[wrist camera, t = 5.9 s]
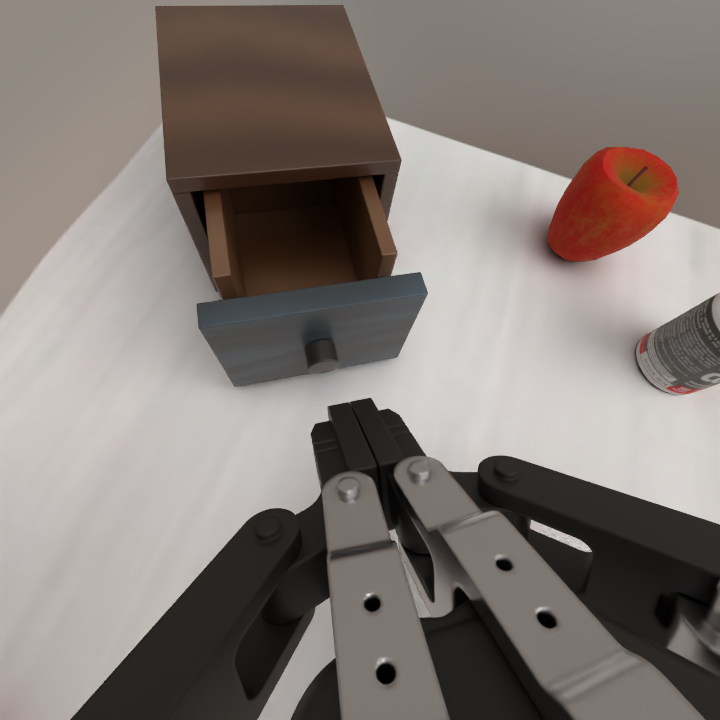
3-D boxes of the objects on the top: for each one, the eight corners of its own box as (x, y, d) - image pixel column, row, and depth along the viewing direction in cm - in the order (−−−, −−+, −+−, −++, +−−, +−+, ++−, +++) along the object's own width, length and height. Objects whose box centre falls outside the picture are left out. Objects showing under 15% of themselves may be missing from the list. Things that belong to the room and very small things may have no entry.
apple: (574, 295, 28) (657, 222, 21) (515, 239, 30) (574, 154, 23) (623, 257, 30) (713, 179, 23) (566, 206, 32) (634, 119, 25)
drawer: (402, 375, 23) (436, 316, 17) (237, 406, 22) (200, 355, 15) (352, 205, 28) (363, 107, 22) (214, 220, 27) (179, 118, 20)
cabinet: (376, 270, 27) (402, 160, 19) (216, 292, 25) (165, 179, 17) (337, 138, 32) (343, 4, 24) (199, 148, 30) (154, 5, 22)
